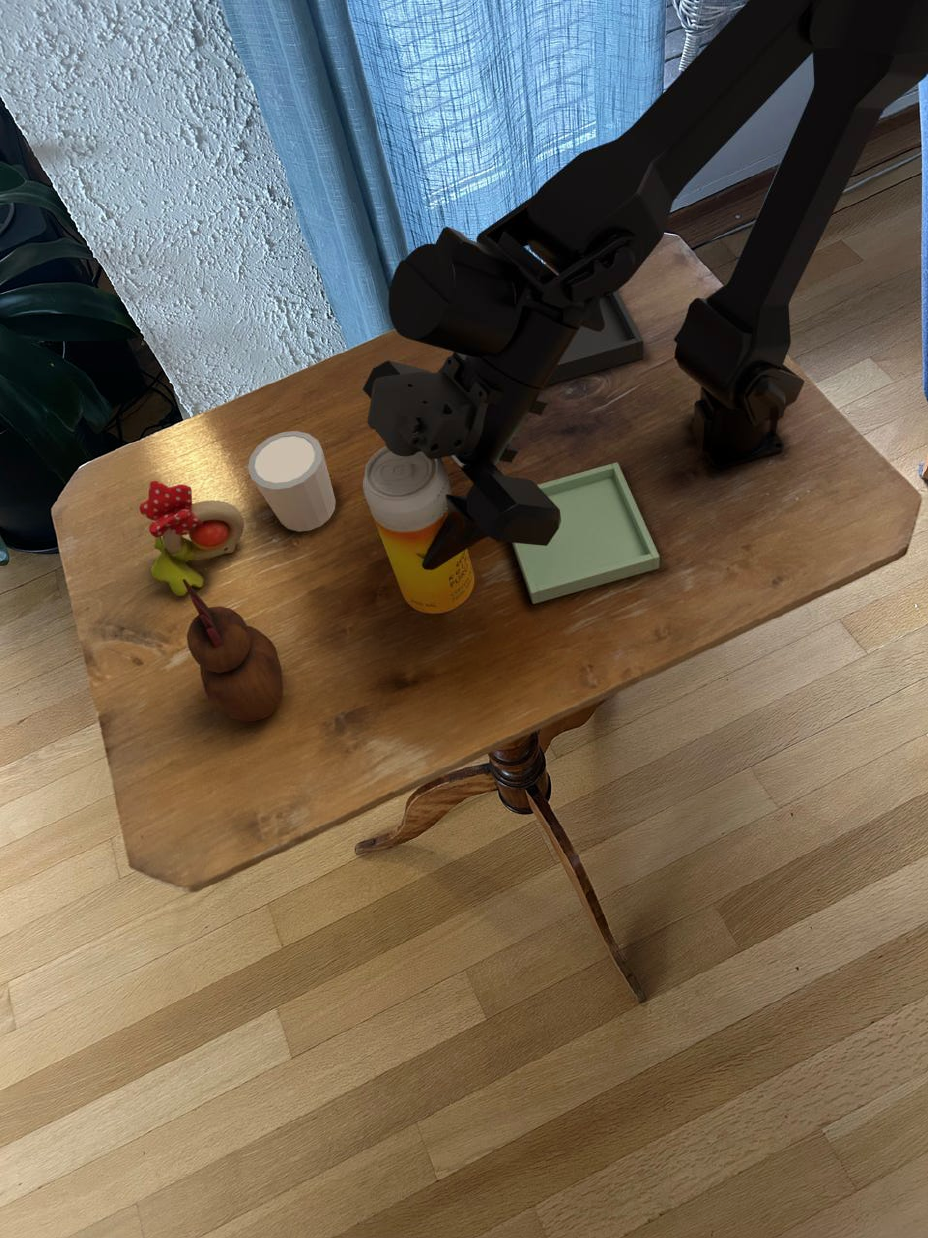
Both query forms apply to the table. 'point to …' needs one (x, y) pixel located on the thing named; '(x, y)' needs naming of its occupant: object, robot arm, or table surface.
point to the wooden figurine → (234, 662)
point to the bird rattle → (188, 532)
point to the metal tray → (601, 343)
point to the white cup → (294, 479)
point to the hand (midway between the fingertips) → (406, 541)
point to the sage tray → (588, 536)
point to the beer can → (416, 527)
